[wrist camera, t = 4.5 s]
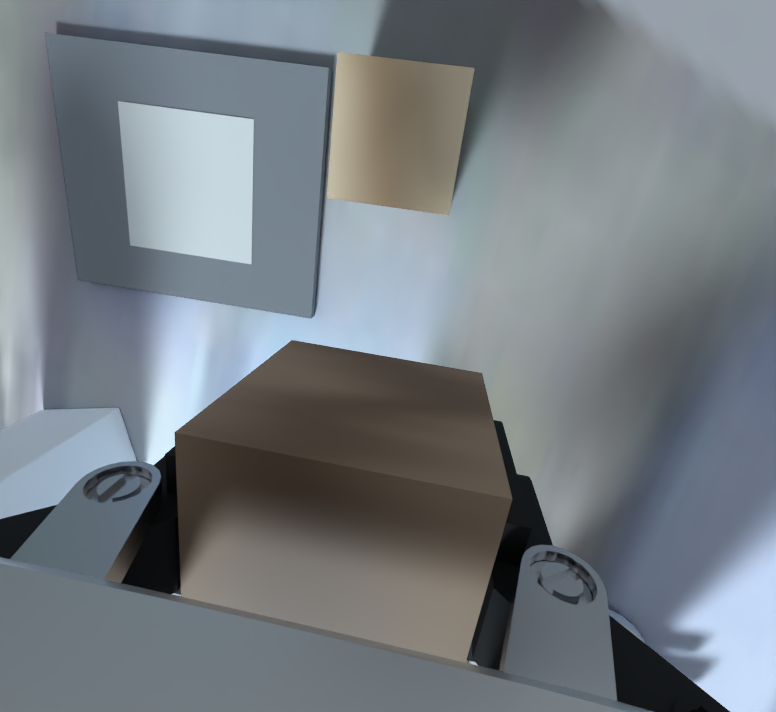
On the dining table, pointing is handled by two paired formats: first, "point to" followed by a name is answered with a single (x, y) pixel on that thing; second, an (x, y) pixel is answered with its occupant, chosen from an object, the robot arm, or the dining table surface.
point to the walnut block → (346, 497)
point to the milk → (57, 454)
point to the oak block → (397, 131)
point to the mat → (193, 170)
